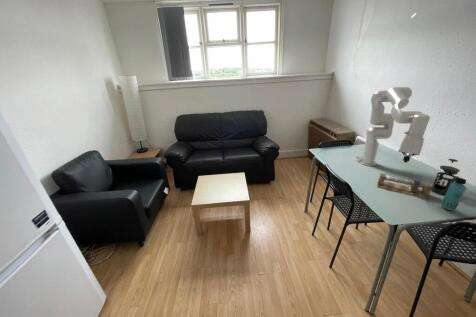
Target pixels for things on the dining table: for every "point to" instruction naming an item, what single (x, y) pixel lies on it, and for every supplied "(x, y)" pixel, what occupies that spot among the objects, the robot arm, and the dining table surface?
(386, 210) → the dining table surface
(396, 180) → the pipe stand
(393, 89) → the robot arm
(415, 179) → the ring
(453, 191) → the beverage bottle
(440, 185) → the french press
